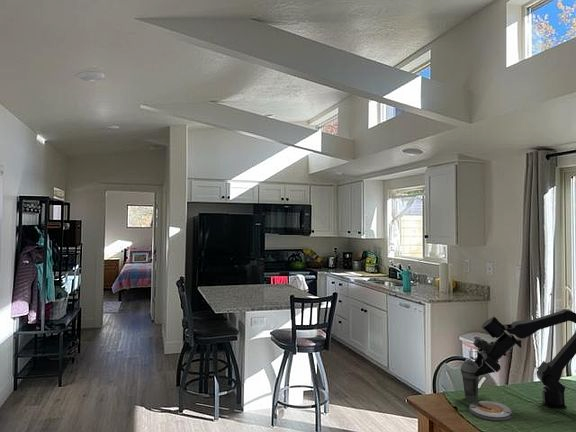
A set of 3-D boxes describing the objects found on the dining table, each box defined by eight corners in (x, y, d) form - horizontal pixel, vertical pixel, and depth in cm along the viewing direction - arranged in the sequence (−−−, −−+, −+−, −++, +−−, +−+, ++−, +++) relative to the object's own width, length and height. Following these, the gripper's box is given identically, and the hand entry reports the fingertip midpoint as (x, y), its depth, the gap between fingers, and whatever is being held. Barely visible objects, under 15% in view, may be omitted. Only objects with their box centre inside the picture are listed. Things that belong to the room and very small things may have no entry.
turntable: (504, 404, 165) (504, 401, 165) (516, 419, 151) (516, 416, 151) (466, 402, 167) (466, 399, 168) (474, 416, 154) (474, 414, 154)
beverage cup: (477, 396, 176) (475, 347, 177) (484, 402, 169) (481, 352, 170) (459, 395, 177) (457, 347, 178) (465, 402, 169) (462, 352, 171)
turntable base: (505, 405, 165) (505, 403, 165) (518, 422, 150) (518, 420, 150) (465, 404, 168) (465, 401, 168) (473, 419, 153) (473, 417, 153)
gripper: (481, 326, 181) (455, 351, 184) (489, 336, 163) (460, 363, 166) (502, 346, 179) (475, 370, 181) (513, 358, 161) (483, 385, 163)
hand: (473, 372), depth 173 cm, fingers open, 9 cm apart
